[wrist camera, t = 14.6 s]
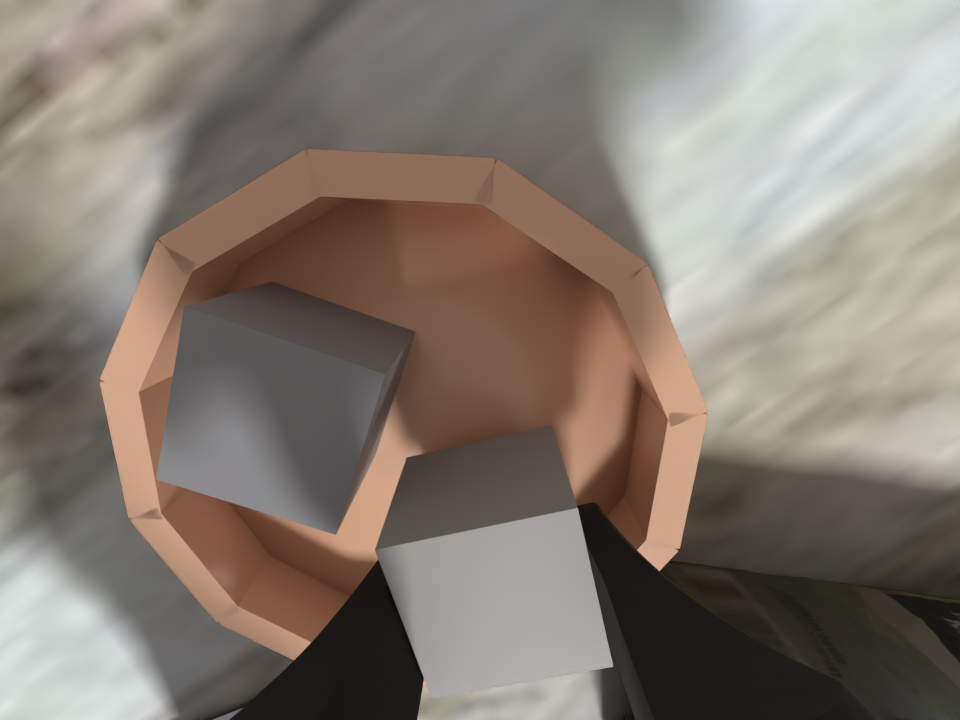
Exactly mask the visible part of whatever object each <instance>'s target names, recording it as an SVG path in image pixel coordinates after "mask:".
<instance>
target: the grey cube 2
mask: <svg viewBox="0 0 960 720" xmlns="http://www.w3.org/2000/svg"><path fill="white" fill-rule="evenodd" d="M375 552H376V554H377V557H378V560H379V562H380V565H381V567H382V570H383V573H384V575H385V578H386V580H387V583H388V586H389V588H390V591H391V593H392V596H393V599H394V601H395V604H396V607H397V609H398V612H399V614H400V617H401V620H402V622H403V625H404V627H405V630H406V633H407V635H408V638H409V640H410V643H411V646H412V648H413V651H414V653H415V656H416V659H417V661H418V664H419V667H420V669H421V672H422V674H423V677H424V680H425V682H426V685H427V687H428V690H429V693H430V695H431V698H438V697H443V696H449V695H455V694H461V693H466V692H472V691H478V690H483V689H489V688H495V687H501V686H506V685H512V684H518V683H523V682H529V681H535V680H541V679H546V678H552V677H558V676H563V675H569V674H575V673H581V672H586V671H592V670H598V669H604V668H609V667H613V662H612V658H611V654H610V649H609V645H608V640H607V636H606V631H605V627H604V622H603V618H602V613H601V609H600V605H599V600H598V596H597V591H596V587H595V582H594V578H593V573H592V569H591V564H590V560H589V556H588V551H587V547H586V542H585V538H584V533H583V529H582V524H581V520H580V515H579V511H578V507H577V504H576V501H575V497H574V494H573V491H572V488H571V485H570V481H569V478H568V475H567V472H566V469H565V466H564V462H563V459H562V456H561V453H560V450H559V446H558V443H557V440H556V437H555V434H554V431H553V427H552V425H550V426H545V427H541V428H536V429H532V430H527V431H523V432H518V433H514V434H509V435H505V436H500V437H496V438H492V439H487V440H483V441H478V442H474V443H469V444H465V445H460V446H456V447H451V448H447V449H442V450H438V451H433V452H429V453H425V454H420V455H416V456H411V457H407V458H406V461H405V464H404V467H403V470H402V472H401V475H400V478H399V481H398V484H397V487H396V490H395V493H394V496H393V499H392V501H391V504H390V507H389V510H388V513H387V516H386V519H385V522H384V525H383V528H382V531H381V533H380V536H379V539H378V542H377V545H376V548H375Z"/></svg>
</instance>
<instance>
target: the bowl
mask: <svg viewBox="0 0 960 720" xmlns="http://www.w3.org/2000/svg"><path fill="white" fill-rule="evenodd" d="M494 160H495V158H491V157H470V156H449V155H428V154H407V153H386V152H366V151H345V150H324V149H308V151H307V150H303V151H301V152H300V153H298V154H296V155H295V156H293V157H291V158H290V159H288V160H286V161H285V162H283V163H281V164H280V165H278V166H277V167H275V168H273V169H272V170H270V171H268V172H267V173H265V174H263V175H262V176H260V177H258V178H257V179H255V180H253V181H252V182H250V183H249V184H247V185H245V186H244V187H242V188H240V189H239V190H237V191H235V192H234V193H232V194H230V195H229V196H227V197H226V198H224V199H222V200H221V201H219V202H217V203H216V204H214V205H212V206H211V207H209V208H207V209H206V210H204V211H203V212H201V213H199V214H198V215H196V216H194V217H193V218H191V219H189V220H188V221H186V222H184V223H183V224H181V225H179V226H178V227H176V228H175V229H173V230H171V231H170V232H168V233H166V234H165V235H163V236H161V237H160V238H159V239H160V240H158V241H156V243H155V246H154V248H153V251H152V253H151V256H150V258H149V260H148V263H147V265H146V268H145V270H144V273H143V275H142V278H141V280H140V282H139V285H138V287H137V290H136V292H135V295H134V297H133V299H132V302H131V304H130V307H129V309H128V312H127V314H126V316H125V319H124V321H123V324H122V326H121V329H120V331H119V334H118V336H117V338H116V341H115V343H114V346H113V348H112V351H111V353H110V355H109V358H108V360H107V363H106V365H105V368H104V370H103V373H102V375H101V377H100V380H102V381H101V382H100V386H101V391H102V396H103V401H104V405H105V410H106V415H107V420H108V424H109V429H110V434H111V439H112V443H113V448H114V453H115V458H116V462H117V467H118V472H119V477H120V481H121V486H122V491H123V496H124V500H125V505H126V510H127V515H128V518H131V519H130V522H131V523H132V524H133V525H134V526H135V527H136V529H137V530H138V531H139V532H140V533H141V535H142V536H143V537H144V538H145V539H146V540H147V542H148V543H149V544H150V545H151V546H152V547H153V549H154V550H155V551H156V552H157V553H158V555H159V556H160V557H161V558H162V559H163V560H164V562H165V563H166V564H167V565H168V566H169V567H170V569H171V570H172V571H173V572H174V573H175V575H176V576H177V577H178V578H179V579H180V580H181V582H182V583H183V584H184V585H185V586H186V587H187V589H188V590H189V591H190V592H191V593H192V595H193V596H194V597H195V598H196V599H197V600H198V602H199V603H200V604H201V605H202V606H203V607H204V609H205V610H206V611H207V612H208V613H209V615H210V616H211V617H212V618H213V619H214V620H215V622H219V621H220V622H219V625H221V626H223V627H225V628H228V629H230V630H232V631H234V632H236V633H238V634H240V635H242V636H244V637H246V638H248V639H250V640H252V641H255V642H257V643H259V644H261V645H263V646H265V647H267V648H269V649H271V650H273V651H275V652H277V653H280V654H282V655H284V656H286V657H288V658H290V659H292V660H295V659H296V658H297V657H298V656H299V655H300V654H301V653H302V652H303V651H304V650H305V649H306V648H307V647H308V646H309V644H310V643H311V642H312V641H313V640H314V639H315V638H316V637H317V636H318V635H319V633H320V632H321V631H322V630H323V629H324V627H325V626H326V625H327V624H328V623H329V622H330V620H331V619H332V618H333V617H334V616H335V614H336V613H337V612H338V611H339V610H340V608H341V607H342V606H343V605H344V604H345V602H346V601H347V600H348V599H349V597H350V596H351V595H352V593H353V592H354V591H355V590H356V588H357V587H358V586H359V584H360V583H361V582H362V580H363V579H364V578H365V577H366V575H367V574H368V572H369V571H370V570H371V568H372V567H373V566H374V564H375V563H376V562H377V560H378V557H377V554H376V552H375V548H376V545H377V542H378V539H379V536H380V533H381V531H382V528H383V525H384V522H385V519H386V516H387V513H388V510H389V507H390V504H391V501H392V499H393V496H394V493H395V490H396V487H397V484H398V481H399V478H400V475H401V472H402V470H403V467H404V464H405V461H406V458H407V457H411V456H416V455H420V454H425V453H429V452H433V451H438V450H442V449H447V448H451V447H456V446H460V445H465V444H469V443H474V442H478V441H483V440H487V439H492V438H496V437H500V436H505V435H509V434H514V433H518V432H523V431H527V430H532V429H536V428H541V427H545V426H550V425H552V427H553V431H554V434H555V437H556V440H557V443H558V446H559V450H560V453H561V456H562V459H563V462H564V466H565V469H566V472H567V475H568V478H569V481H570V485H571V488H572V491H573V494H574V497H575V501H576V504H577V505H582V504H587V503H592V502H595V503H596V504H598V505H599V506H600V508H601V509H602V511H603V512H604V513H605V515H606V516H607V517H608V519H609V520H610V521H611V522H612V524H613V525H614V526H615V527H616V528H617V529H618V531H619V532H620V533H621V534H622V535H623V536H624V537H625V538H626V539H627V540H628V541H629V542H630V543H631V544H632V545H633V546H634V548H635V549H636V550H637V551H638V552H639V553H640V554H641V555H642V556H644V557H645V558H646V559H647V560H648V561H649V562H650V563H651V564H652V565H653V566H654V567H655V568H657V569H658V570H659V571H660V570H661V569H662V568H663V567H664V566H665V565H666V564H667V563H668V562H669V561H670V560H671V558H672V557H673V556H674V555H675V554H676V553H677V552H678V549H680V545H681V541H682V536H683V531H684V526H685V522H686V517H687V512H688V507H689V503H690V498H691V493H692V488H693V484H694V479H695V474H696V469H697V465H698V460H699V455H700V450H701V446H702V441H703V436H704V431H705V427H706V422H707V417H708V414H707V413H706V412H708V410H707V408H706V405H705V403H704V401H703V398H702V396H701V393H700V391H699V388H698V386H697V383H696V381H695V378H694V376H693V373H692V371H691V368H690V366H689V364H688V361H687V359H686V356H685V354H684V351H683V349H682V346H681V344H680V341H679V339H678V336H677V334H676V331H675V329H674V326H673V324H672V322H671V319H670V317H669V314H668V312H667V309H666V307H665V304H664V302H663V299H662V297H661V294H660V292H659V289H658V287H657V285H656V282H655V280H654V277H653V275H652V272H651V270H650V267H649V265H646V263H647V262H645V261H644V260H642V259H641V258H639V257H638V256H637V255H635V254H634V253H632V252H631V251H629V250H628V249H626V248H625V247H624V246H622V245H621V244H619V243H618V242H616V241H615V240H614V239H612V238H611V237H609V236H608V235H606V234H605V233H604V232H602V231H601V230H599V229H598V228H596V227H595V226H594V225H592V224H591V223H589V222H588V221H586V220H585V219H584V218H582V217H581V216H579V215H578V214H576V213H575V212H573V211H572V210H571V209H569V208H568V207H566V206H565V205H563V204H562V203H561V202H559V201H558V200H556V199H555V198H553V197H552V196H551V195H549V194H548V193H546V192H545V191H543V190H542V189H541V188H539V187H538V186H536V185H535V184H533V183H532V182H531V181H529V180H528V179H526V178H525V177H523V176H522V175H520V174H519V173H518V172H516V171H515V170H513V169H512V168H510V167H509V166H508V165H506V164H505V163H503V162H502V161H500V160H499V159H498V160H497V162H496V163H495V165H494ZM269 282H275V283H277V284H280V285H283V286H286V287H289V288H292V289H295V290H298V291H300V292H303V293H306V294H309V295H312V296H315V297H318V298H321V299H323V300H326V301H329V302H332V303H335V304H338V305H341V306H344V307H346V308H349V309H352V310H355V311H358V312H361V313H364V314H367V315H369V316H372V317H375V318H378V319H381V320H384V321H387V322H390V323H392V324H395V325H398V326H401V327H404V328H407V329H410V330H413V331H415V334H414V337H413V340H412V343H411V346H410V349H409V353H408V356H407V359H406V362H405V365H404V368H403V371H402V374H401V377H400V381H399V384H398V387H397V390H396V393H395V396H394V399H393V402H392V405H391V409H390V412H389V415H388V418H387V421H386V424H385V427H384V430H383V434H382V437H381V440H380V443H379V446H378V449H377V452H376V455H375V457H374V459H373V461H372V463H371V465H370V467H369V469H368V471H367V473H366V475H365V477H364V479H363V481H362V483H361V485H360V487H359V489H358V491H357V493H356V495H355V497H354V499H353V501H352V503H351V505H350V507H349V509H348V511H347V513H346V515H345V518H344V520H343V522H342V524H341V526H340V528H339V530H338V532H337V534H336V535H334V534H331V533H328V532H325V531H321V530H318V529H315V528H312V527H308V526H305V525H302V524H299V523H295V522H292V521H289V520H286V519H282V518H279V517H276V516H273V515H269V514H266V513H263V512H260V511H257V510H253V509H250V508H247V507H244V506H240V505H237V504H234V503H231V502H227V501H224V500H221V499H218V498H214V497H211V496H208V495H205V494H201V493H198V492H195V491H192V490H189V489H185V488H182V487H179V486H176V485H172V484H169V483H166V482H163V481H159V480H156V478H157V472H158V465H159V459H160V453H161V447H162V441H163V434H164V428H165V422H166V416H167V410H168V403H169V397H170V391H171V385H172V379H173V372H174V366H175V360H176V354H177V347H178V341H179V335H180V329H181V323H182V316H183V310H184V306H187V305H190V304H194V303H197V302H201V301H205V300H208V299H212V298H215V297H219V296H222V295H226V294H230V293H233V292H237V291H240V290H244V289H247V288H251V287H255V286H258V285H262V284H265V283H269ZM423 687H427V685H426V682H425V680H424V682H423Z"/></svg>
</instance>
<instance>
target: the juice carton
mask: <svg viewBox="0 0 960 720" xmlns="http://www.w3.org/2000/svg"><path fill="white" fill-rule="evenodd" d="M660 572H661V573H662V574H663V575H664V576H666V577H667V578H668V579H669V580H670V581H672V582H673V583H674V584H675V585H676V586H678V587H679V588H680V589H682V590H683V591H684V592H685V593H687V594H688V595H689V596H691V597H692V598H693V599H695V600H696V601H697V602H699V603H700V604H702V605H703V606H704V607H706V608H707V609H709V610H710V611H711V612H713V613H714V614H716V615H717V616H719V617H720V618H722V619H724V620H725V621H727V622H728V623H730V624H732V625H733V626H735V627H737V628H738V629H740V630H741V631H743V632H745V633H746V634H748V635H749V636H751V637H753V638H754V639H756V640H757V641H759V642H761V643H763V644H765V645H767V646H768V647H770V648H772V649H774V650H776V651H778V652H779V653H781V654H783V655H785V656H787V657H789V658H791V659H793V660H796V661H798V662H800V663H802V664H804V665H806V666H808V667H810V668H812V669H815V670H817V671H819V672H821V673H823V674H825V675H827V676H829V677H831V678H834V679H836V680H838V681H840V682H841V683H843V684H844V685H845V687H846V688H847V689H848V690H849V691H850V692H851V693H852V694H853V695H854V696H855V697H856V698H857V699H858V700H859V701H860V702H861V703H862V704H863V705H864V706H865V707H866V708H867V710H868V711H869V712H870V713H871V714H872V715H873V716H874V717H875V718H876V719H877V720H960V600H954V599H944V598H937V597H931V596H927V595H920V594H913V593H907V592H903V591H898V590H888V589H878V588H871V587H864V586H857V585H850V584H843V583H835V582H826V581H818V580H811V579H807V578H803V577H789V576H773V575H765V574H759V573H754V572H749V571H746V570H737V569H728V568H718V567H712V566H705V565H697V564H690V563H683V562H674V561H669V562H668V563H667V564H666V565H665V566H664V567H663V568H662V569H661V570H660ZM626 713H627V712H626ZM625 718H626V714H625V716H624V718H623V720H625Z"/></svg>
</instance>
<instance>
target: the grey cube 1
mask: <svg viewBox="0 0 960 720" xmlns="http://www.w3.org/2000/svg"><path fill="white" fill-rule="evenodd" d="M414 334H415V331H413V330H410V329H407V328H404V327H401V326H398V325H395V324H392V323H390V322H387V321H384V320H381V319H378V318H375V317H372V316H369V315H367V314H364V313H361V312H358V311H355V310H352V309H349V308H346V307H344V306H341V305H338V304H335V303H332V302H329V301H326V300H323V299H321V298H318V297H315V296H312V295H309V294H306V293H303V292H300V291H298V290H295V289H292V288H289V287H286V286H283V285H280V284H277V283H275V282H269V283H265V284H262V285H258V286H255V287H251V288H247V289H244V290H240V291H237V292H233V293H230V294H226V295H222V296H219V297H215V298H212V299H208V300H205V301H201V302H197V303H194V304H190V305H187V306H184V310H183V316H182V323H181V329H180V335H179V341H178V347H177V354H176V360H175V366H174V372H173V379H172V385H171V391H170V397H169V403H168V410H167V416H166V422H165V428H164V434H163V441H162V447H161V453H160V459H159V465H158V472H157V478H156V480H159V481H163V482H166V483H169V484H172V485H176V486H179V487H182V488H185V489H189V490H192V491H195V492H198V493H201V494H205V495H208V496H211V497H214V498H218V499H221V500H224V501H227V502H231V503H234V504H237V505H240V506H244V507H247V508H250V509H253V510H257V511H260V512H263V513H266V514H269V515H273V516H276V517H279V518H282V519H286V520H289V521H292V522H295V523H299V524H302V525H305V526H308V527H312V528H315V529H318V530H321V531H325V532H328V533H331V534H334V535H336V534H337V532H338V530H339V528H340V526H341V524H342V522H343V520H344V518H345V515H346V513H347V511H348V509H349V507H350V505H351V503H352V501H353V499H354V497H355V495H356V493H357V491H358V489H359V487H360V485H361V483H362V481H363V479H364V477H365V475H366V473H367V471H368V469H369V467H370V465H371V463H372V461H373V459H374V457H375V455H376V452H377V449H378V446H379V443H380V440H381V437H382V434H383V430H384V427H385V424H386V421H387V418H388V415H389V412H390V409H391V405H392V402H393V399H394V396H395V393H396V390H397V387H398V384H399V381H400V377H401V374H402V371H403V368H404V365H405V362H406V359H407V356H408V353H409V349H410V346H411V343H412V340H413V337H414Z"/></svg>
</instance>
